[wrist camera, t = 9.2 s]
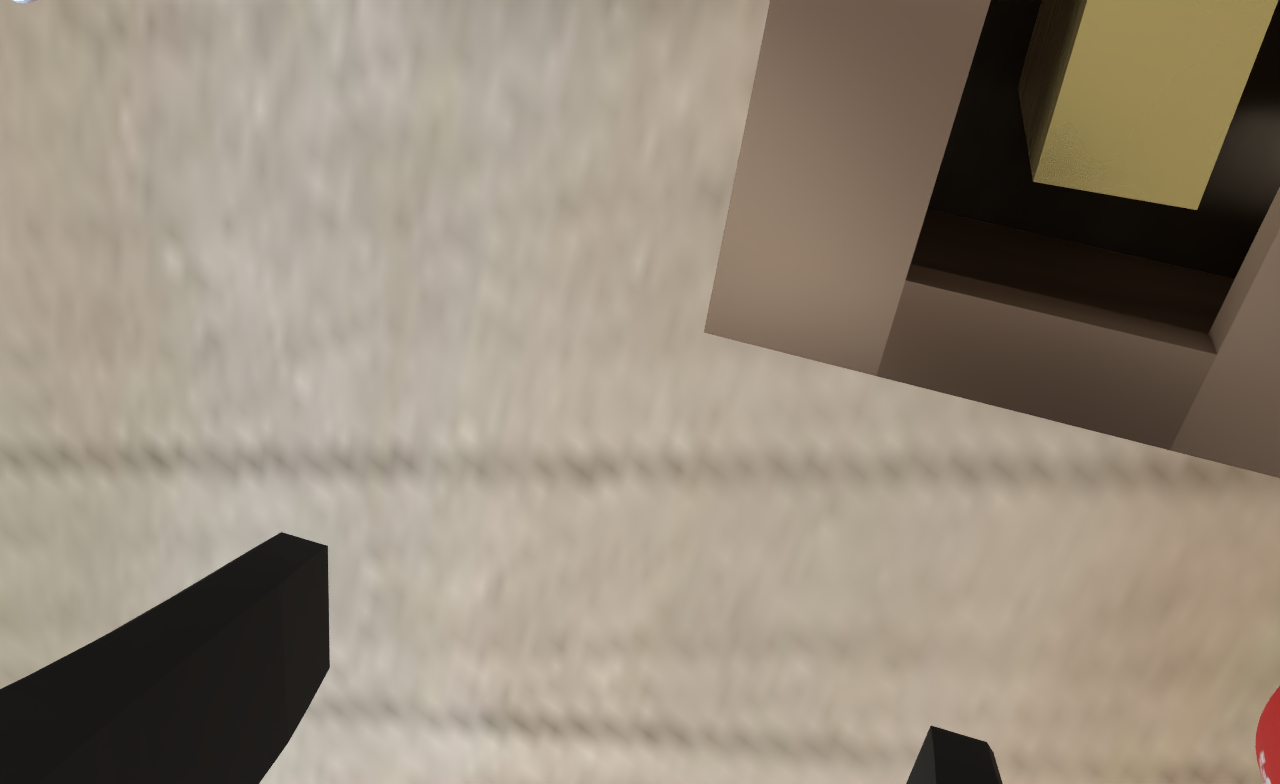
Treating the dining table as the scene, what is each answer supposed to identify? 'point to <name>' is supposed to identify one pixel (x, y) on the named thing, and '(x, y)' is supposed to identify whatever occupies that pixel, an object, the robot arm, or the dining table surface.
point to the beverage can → (1269, 740)
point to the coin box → (968, 254)
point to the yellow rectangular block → (1136, 92)
